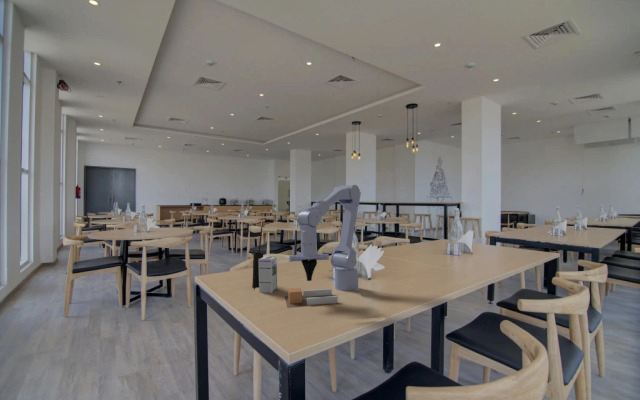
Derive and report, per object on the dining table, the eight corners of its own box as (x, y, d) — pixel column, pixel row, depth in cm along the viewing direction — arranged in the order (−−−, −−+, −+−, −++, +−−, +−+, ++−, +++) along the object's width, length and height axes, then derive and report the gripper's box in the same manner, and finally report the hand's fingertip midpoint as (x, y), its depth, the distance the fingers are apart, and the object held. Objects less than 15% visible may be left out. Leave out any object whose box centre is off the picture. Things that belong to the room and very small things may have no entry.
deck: (330, 295, 117) (330, 293, 117) (338, 306, 105) (338, 303, 105) (284, 299, 113) (284, 296, 113) (287, 310, 101) (287, 307, 101)
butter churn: (243, 291, 124) (242, 223, 124) (246, 284, 133) (246, 222, 133) (265, 290, 124) (265, 223, 124) (267, 283, 134) (267, 221, 134)
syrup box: (272, 295, 117) (272, 259, 117) (258, 294, 119) (258, 258, 119) (277, 291, 123) (277, 256, 123) (264, 290, 124) (263, 255, 124)
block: (300, 298, 111) (300, 287, 111) (302, 302, 106) (302, 291, 106) (288, 299, 110) (288, 288, 110) (289, 303, 105) (289, 292, 105)
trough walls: (331, 294, 116) (331, 288, 116) (337, 302, 106) (337, 296, 106) (303, 296, 114) (303, 290, 114) (307, 305, 104) (307, 298, 104)
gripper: (290, 245, 104) (290, 284, 104) (330, 244, 106) (330, 281, 107) (288, 242, 111) (288, 279, 111) (326, 241, 113) (326, 276, 113)
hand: (309, 280), depth 109 cm, fingers closed
